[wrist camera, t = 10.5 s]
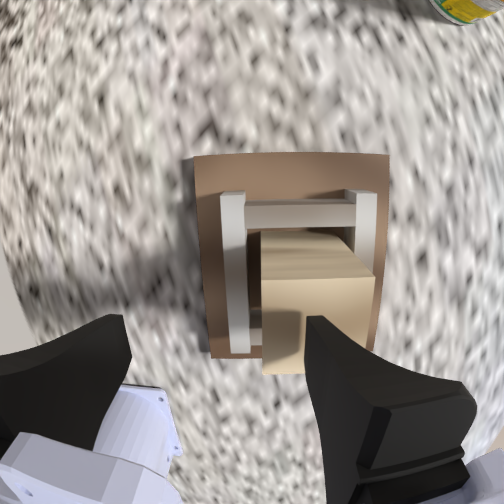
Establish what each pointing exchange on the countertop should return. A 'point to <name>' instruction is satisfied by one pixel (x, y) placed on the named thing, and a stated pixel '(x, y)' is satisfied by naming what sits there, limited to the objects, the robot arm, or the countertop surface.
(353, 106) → the countertop surface
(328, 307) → the birch peg
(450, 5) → the supplement bottle
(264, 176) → the socket board
